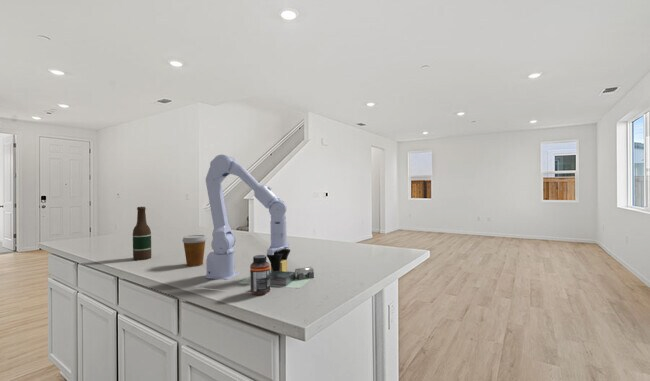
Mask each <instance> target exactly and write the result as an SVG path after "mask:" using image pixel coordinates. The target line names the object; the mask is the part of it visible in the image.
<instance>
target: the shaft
mask: <svg viewBox="0 0 650 381" xmlns="http://www.w3.org/2000/svg"><path fill="white" fill-rule="evenodd" d="M294 272H296V279H298V280H303V279H304V276H306V277H307V278H309V279H310V278H311V279H314V278H315V276H314V275H315V272H314V267H312V266H307V267H299V268H295V269H294ZM311 279H310V280H311Z"/></svg>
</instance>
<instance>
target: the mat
mask: <svg viewBox="0 0 650 381" xmlns="http://www.w3.org/2000/svg"><path fill="white" fill-rule="evenodd" d="M270 273H271V271H270ZM315 276H316V274H314V277H315ZM310 280H312V278H310V279H309V278H307V277H306V276H304V279H303V280H298V279H295V280H294V281H292V282H291V283H290V284H289V285H287V286H279V285H270V287H278V288H279V287H280V288H291V289H292V288H293V289H300V288H302V287H303V286H305V285H306V284H307V283H308V282H309V281H310ZM238 284H243V285H251V277H250V276H249V277H247V278H245V279H243V280H241V281H239V282H238Z"/></svg>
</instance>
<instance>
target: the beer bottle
mask: <svg viewBox="0 0 650 381" xmlns="http://www.w3.org/2000/svg"><path fill="white" fill-rule="evenodd" d="M136 210H137V217H136V219H137V220H136V225H135V226H134V228H133V230H132V258H133V260H134V261H144V260H145V261H146V260H150V259H151V258H152V232H151V228H150V226H149V225H148V223H147V218H146V217H147V216H146V210H147V208H146V206H137V207H136Z"/></svg>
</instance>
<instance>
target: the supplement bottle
mask: <svg viewBox="0 0 650 381" xmlns="http://www.w3.org/2000/svg"><path fill="white" fill-rule="evenodd" d="M267 259H268V258H267V254H266V255H264V254H257V255H254V256H253V258H252V263H250V266H249V268H250V270H249V273H250V274H249V275H250V276H249V277H251V284H250V293H251V294H252V295H255V296H262V295H263V296H264V295H267V294H268V293H270V292H271V286H270V272H271V263H270V262H268V261H267Z"/></svg>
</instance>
